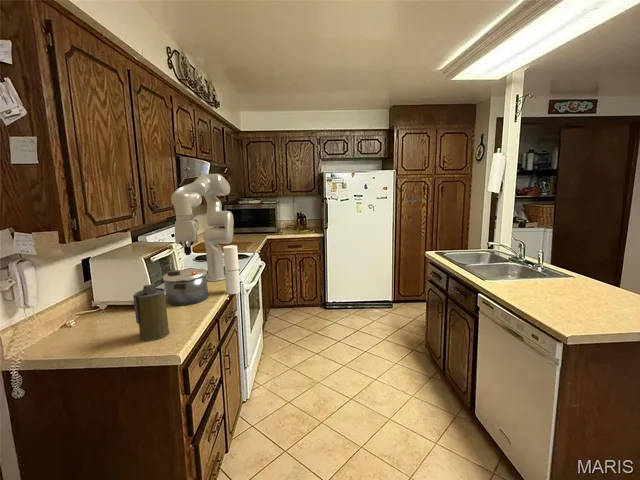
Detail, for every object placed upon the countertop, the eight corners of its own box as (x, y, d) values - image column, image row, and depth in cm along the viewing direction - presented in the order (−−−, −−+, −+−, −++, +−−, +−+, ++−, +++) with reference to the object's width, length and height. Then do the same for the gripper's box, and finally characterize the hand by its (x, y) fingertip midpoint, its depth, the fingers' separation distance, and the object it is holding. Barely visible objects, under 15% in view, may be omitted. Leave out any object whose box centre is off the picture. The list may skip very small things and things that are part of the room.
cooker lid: (170, 272, 177) (170, 267, 177) (210, 269, 180) (209, 264, 179) (157, 283, 157) (156, 277, 157) (202, 279, 160) (201, 274, 159)
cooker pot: (174, 293, 181) (172, 271, 179) (212, 290, 184) (210, 269, 182) (159, 309, 157) (156, 284, 155) (202, 305, 160) (200, 281, 158)
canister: (161, 327, 136) (156, 279, 133) (174, 333, 130) (169, 284, 127) (133, 336, 128) (127, 286, 125) (145, 344, 122) (139, 291, 118)
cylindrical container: (236, 294, 176) (233, 247, 172) (224, 293, 177) (220, 247, 173) (242, 290, 183) (239, 245, 179) (230, 289, 184) (227, 245, 180)
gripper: (201, 216, 169) (205, 252, 172) (171, 218, 167) (174, 253, 170) (198, 218, 161) (201, 255, 165) (166, 220, 160) (170, 257, 163)
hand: (188, 254), depth 167 cm, fingers closed
